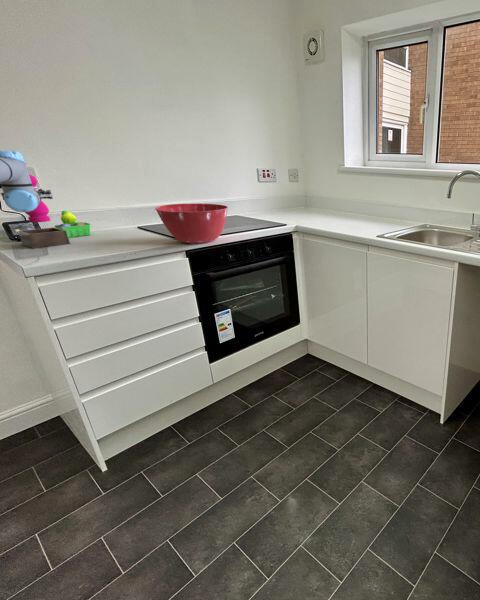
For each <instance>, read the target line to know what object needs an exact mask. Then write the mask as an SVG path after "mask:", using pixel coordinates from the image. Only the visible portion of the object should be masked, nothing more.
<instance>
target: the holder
mask: <svg viewBox="0 0 480 600" xmlns="http://www.w3.org/2000/svg"><path fill="white" fill-rule="evenodd" d="M17 233H18V236H19V238H20V242H21V245H23V246H26V247H29V248H31V249H40V248H47V247H54V246H62V245H70V244H71V242H70V239H69V237H68V236H67V233H66V230H62V229H58V228H55V226H54V227H46V228H45V227H44V228H34V229H25V230H17Z"/></svg>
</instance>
